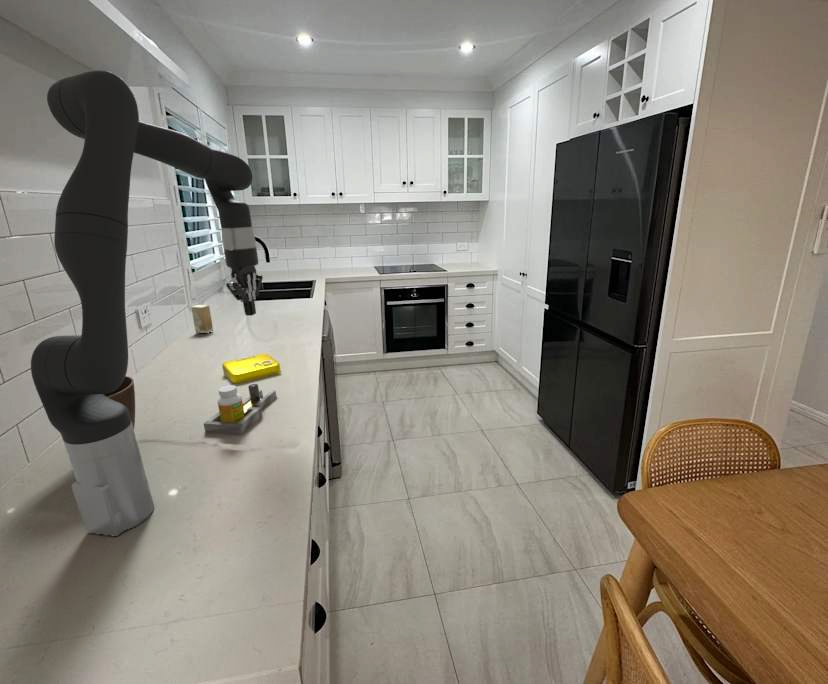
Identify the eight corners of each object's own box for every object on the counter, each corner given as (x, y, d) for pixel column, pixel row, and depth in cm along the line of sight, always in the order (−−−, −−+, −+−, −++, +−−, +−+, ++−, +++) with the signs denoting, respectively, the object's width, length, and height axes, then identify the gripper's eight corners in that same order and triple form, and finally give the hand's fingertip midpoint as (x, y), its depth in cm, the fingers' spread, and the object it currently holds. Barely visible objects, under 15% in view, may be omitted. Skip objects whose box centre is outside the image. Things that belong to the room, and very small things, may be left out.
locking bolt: (245, 418, 107) (242, 397, 105) (237, 417, 107) (233, 396, 106) (262, 403, 115) (259, 384, 113) (254, 403, 115) (251, 383, 113)
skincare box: (195, 333, 188) (189, 306, 184) (202, 330, 192) (197, 304, 188) (207, 334, 186) (202, 307, 183) (214, 331, 190) (209, 304, 186)
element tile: (268, 363, 149) (266, 350, 147) (283, 376, 137) (281, 362, 136) (222, 374, 140) (220, 361, 139) (234, 389, 129) (232, 374, 127)
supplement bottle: (237, 430, 101) (230, 393, 98) (217, 429, 103) (210, 392, 100) (250, 420, 106) (244, 384, 103) (231, 418, 108) (224, 383, 105)
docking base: (245, 442, 98) (243, 429, 97) (195, 438, 100) (192, 425, 99) (293, 397, 120) (291, 386, 119) (251, 395, 123) (249, 384, 122)
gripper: (241, 244, 112) (251, 308, 117) (209, 249, 99) (222, 321, 105) (267, 243, 110) (276, 308, 116) (238, 249, 98) (249, 321, 103)
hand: (250, 314), depth 110 cm, fingers closed
